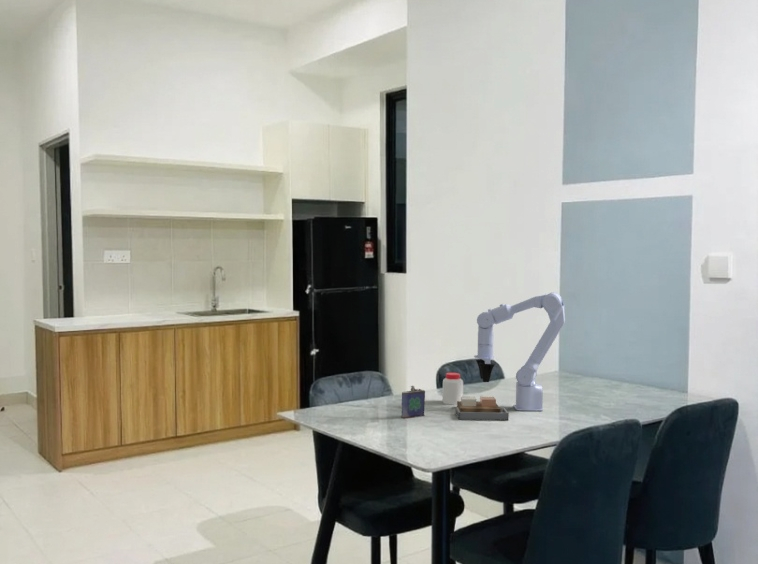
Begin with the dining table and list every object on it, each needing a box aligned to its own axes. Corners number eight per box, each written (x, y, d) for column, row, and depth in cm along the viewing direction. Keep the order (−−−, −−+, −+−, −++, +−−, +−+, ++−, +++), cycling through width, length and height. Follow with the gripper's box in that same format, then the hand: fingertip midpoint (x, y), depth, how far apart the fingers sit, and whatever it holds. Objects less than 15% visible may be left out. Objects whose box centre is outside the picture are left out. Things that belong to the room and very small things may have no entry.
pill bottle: (461, 405, 270) (462, 376, 270) (441, 404, 272) (441, 375, 271) (463, 401, 278) (464, 372, 277) (443, 400, 279) (444, 371, 279)
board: (494, 407, 267) (495, 401, 267) (499, 414, 256) (500, 408, 255) (457, 406, 268) (457, 401, 268) (460, 413, 256) (460, 408, 256)
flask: (403, 418, 247) (404, 387, 247) (399, 417, 250) (399, 386, 249) (426, 416, 252) (426, 385, 252) (421, 414, 254) (421, 384, 254)
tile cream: (474, 403, 264) (474, 396, 264) (476, 406, 259) (476, 399, 259) (460, 403, 264) (460, 396, 264) (462, 406, 259) (462, 399, 259)
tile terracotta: (493, 403, 264) (493, 396, 264) (495, 406, 259) (495, 399, 259) (480, 403, 264) (480, 396, 264) (481, 406, 259) (481, 399, 259)
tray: (504, 414, 255) (504, 407, 255) (508, 420, 246) (508, 413, 246) (456, 413, 256) (456, 406, 256) (458, 419, 247) (458, 412, 247)
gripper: (472, 341, 277) (471, 376, 277) (477, 346, 262) (476, 383, 263) (490, 341, 277) (490, 376, 277) (496, 346, 262) (495, 383, 263)
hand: (484, 380), depth 270 cm, fingers open, 6 cm apart
